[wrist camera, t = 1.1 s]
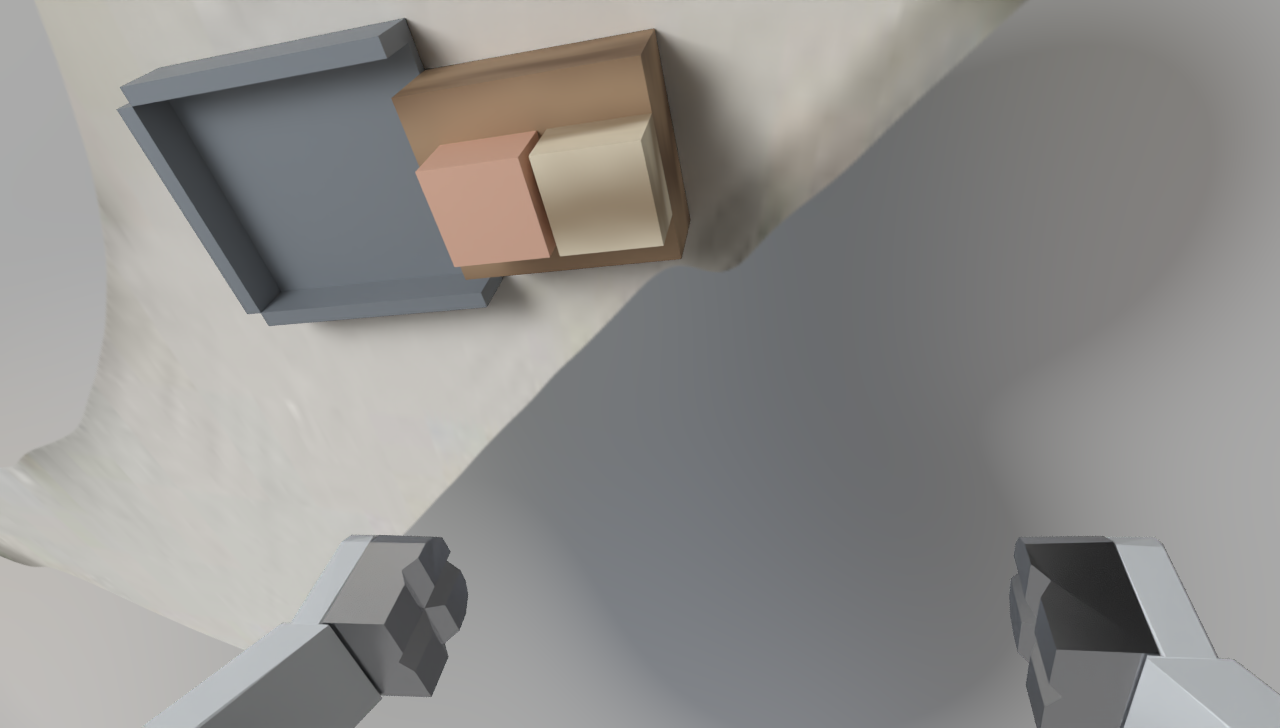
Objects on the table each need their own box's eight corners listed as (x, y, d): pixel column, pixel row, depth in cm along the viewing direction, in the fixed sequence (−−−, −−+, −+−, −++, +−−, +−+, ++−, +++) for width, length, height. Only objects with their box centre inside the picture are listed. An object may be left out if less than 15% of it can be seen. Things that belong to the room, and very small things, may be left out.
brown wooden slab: (424, 70, 38) (391, 98, 35) (654, 28, 34) (640, 55, 31) (489, 242, 44) (465, 279, 40) (690, 220, 40) (681, 259, 37)
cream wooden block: (546, 128, 34) (528, 156, 32) (651, 113, 33) (640, 140, 31) (575, 225, 37) (559, 256, 35) (672, 214, 36) (663, 245, 34)
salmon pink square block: (439, 144, 36) (415, 172, 33) (536, 130, 34) (517, 157, 32) (475, 236, 39) (454, 267, 36) (565, 226, 37) (550, 257, 35)
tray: (143, 71, 40) (104, 90, 38) (404, 18, 36) (378, 35, 34) (280, 300, 49) (255, 327, 47) (502, 279, 45) (486, 307, 43)
